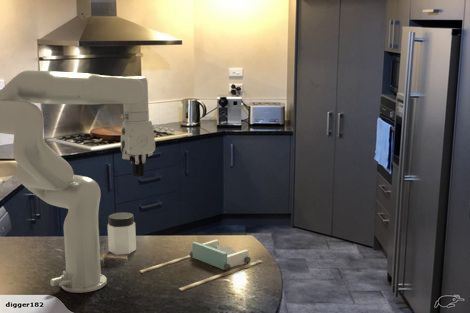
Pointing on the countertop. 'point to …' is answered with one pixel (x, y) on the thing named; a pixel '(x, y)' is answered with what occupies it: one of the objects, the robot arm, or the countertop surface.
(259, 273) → the countertop surface
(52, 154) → the robot arm
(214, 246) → the green frame
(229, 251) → the grey rock
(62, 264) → the countertop surface
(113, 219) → the jar
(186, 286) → the track
